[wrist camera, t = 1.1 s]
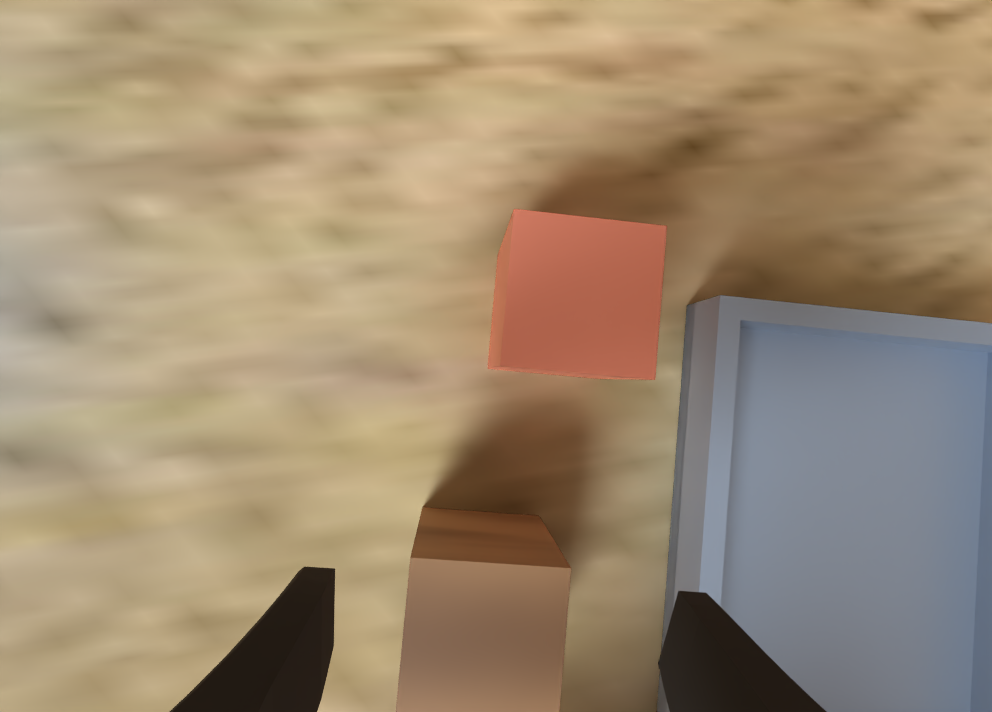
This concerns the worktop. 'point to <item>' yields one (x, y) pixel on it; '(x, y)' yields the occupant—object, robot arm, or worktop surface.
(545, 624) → the walnut block
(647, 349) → the brick-red block
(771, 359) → the tray
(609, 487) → the worktop surface
